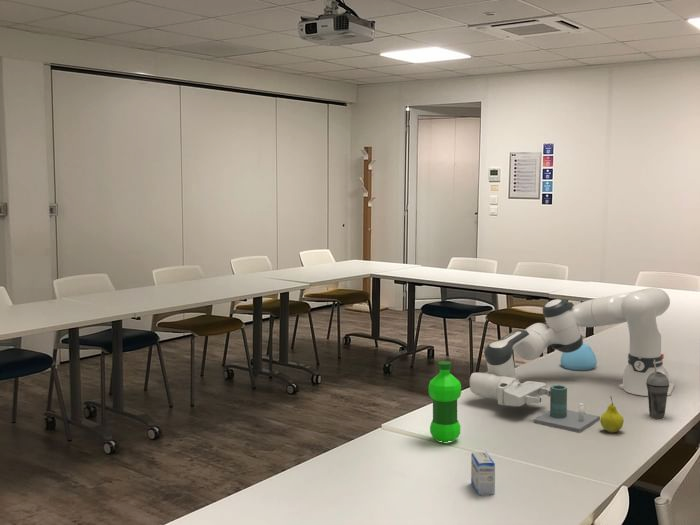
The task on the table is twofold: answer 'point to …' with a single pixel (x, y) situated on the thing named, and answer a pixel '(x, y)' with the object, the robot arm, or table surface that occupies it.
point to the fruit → (612, 419)
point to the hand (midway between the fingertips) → (546, 397)
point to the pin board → (569, 420)
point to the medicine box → (483, 473)
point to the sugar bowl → (579, 359)
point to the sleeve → (558, 401)
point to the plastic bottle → (445, 404)
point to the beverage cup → (657, 393)
